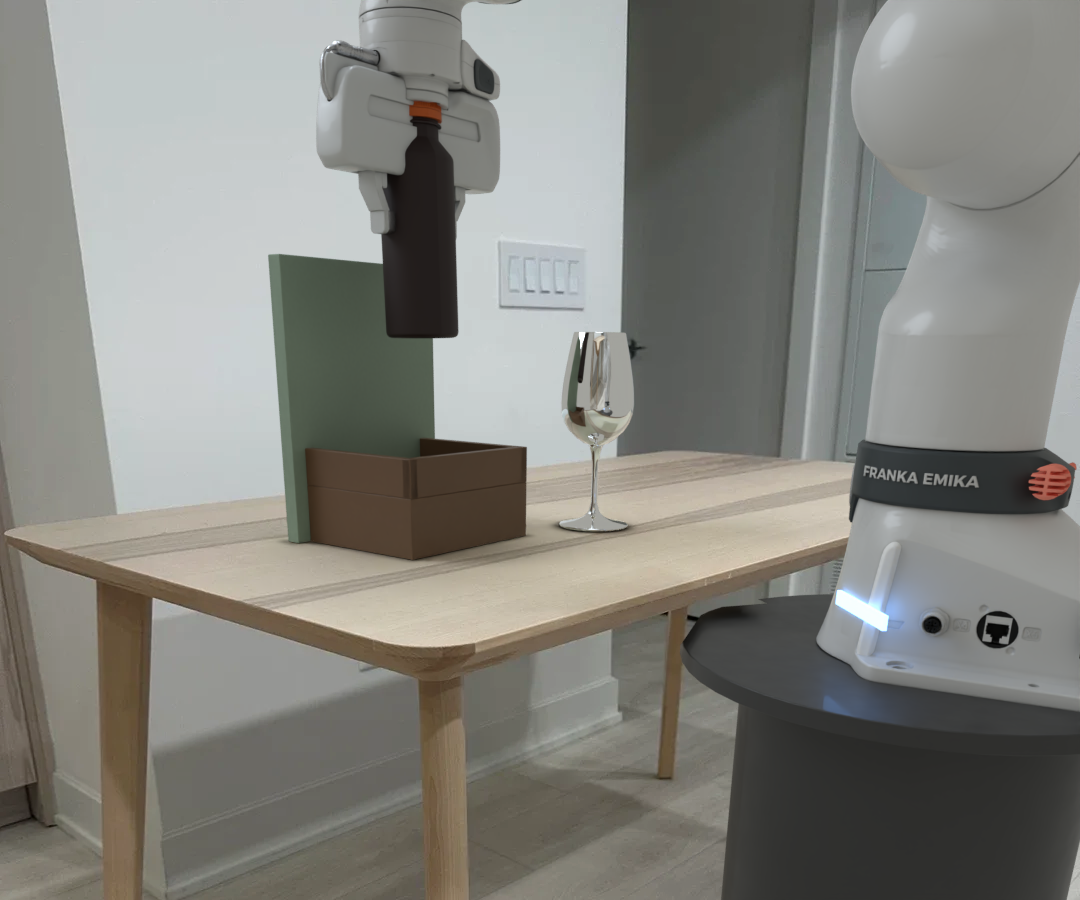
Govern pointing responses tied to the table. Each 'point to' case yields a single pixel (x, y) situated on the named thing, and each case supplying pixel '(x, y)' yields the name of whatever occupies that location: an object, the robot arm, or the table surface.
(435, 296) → the vinegar
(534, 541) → the table surface
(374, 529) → the door shelf
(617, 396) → the wineglass
